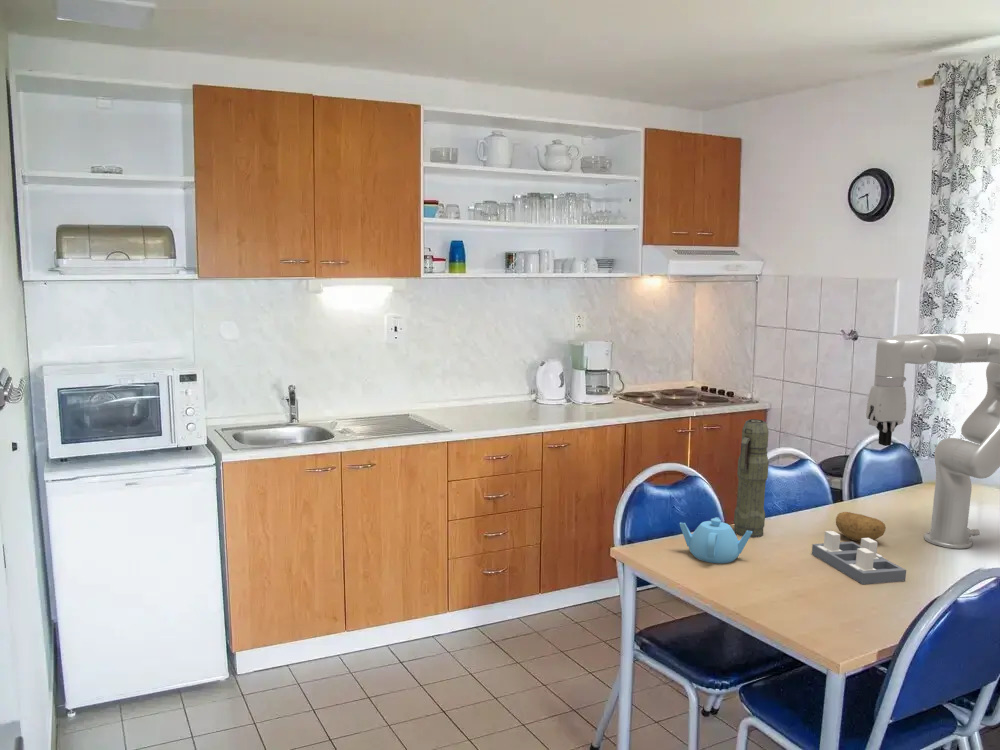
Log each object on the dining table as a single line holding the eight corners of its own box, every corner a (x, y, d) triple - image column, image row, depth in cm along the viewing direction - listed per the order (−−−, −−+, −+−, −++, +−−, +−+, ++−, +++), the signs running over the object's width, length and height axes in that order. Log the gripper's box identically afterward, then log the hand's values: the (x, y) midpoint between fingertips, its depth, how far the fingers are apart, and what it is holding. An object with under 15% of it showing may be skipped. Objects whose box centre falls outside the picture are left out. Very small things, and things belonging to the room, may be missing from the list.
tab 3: (864, 570, 218) (866, 547, 217) (875, 576, 214) (877, 553, 213) (851, 571, 217) (853, 548, 217) (862, 577, 213) (864, 554, 212)
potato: (880, 550, 237) (882, 523, 236) (830, 539, 246) (832, 513, 244) (888, 541, 245) (890, 515, 244) (839, 531, 253) (841, 506, 252)
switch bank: (851, 551, 236) (852, 540, 235) (905, 580, 214) (906, 568, 214) (811, 554, 233) (812, 543, 232) (862, 584, 211) (863, 572, 211)
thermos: (726, 533, 248) (733, 421, 243) (743, 524, 257) (750, 416, 252) (753, 540, 243) (761, 425, 238) (770, 531, 251) (778, 420, 246)
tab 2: (868, 559, 227) (870, 537, 226) (879, 565, 222) (881, 542, 221) (855, 560, 226) (857, 537, 225) (866, 566, 221) (868, 543, 221)
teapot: (674, 550, 233) (676, 514, 232) (715, 543, 240) (718, 508, 238) (709, 569, 220) (711, 531, 218) (752, 561, 226) (755, 524, 225)
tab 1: (832, 551, 232) (833, 530, 231) (841, 557, 228) (843, 535, 227) (819, 552, 231) (821, 530, 230) (829, 558, 227) (831, 536, 226)
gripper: (901, 378, 237) (897, 440, 240) (857, 380, 233) (853, 443, 236) (920, 382, 230) (916, 446, 232) (875, 385, 226) (871, 449, 229)
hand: (884, 444), depth 234 cm, fingers closed
